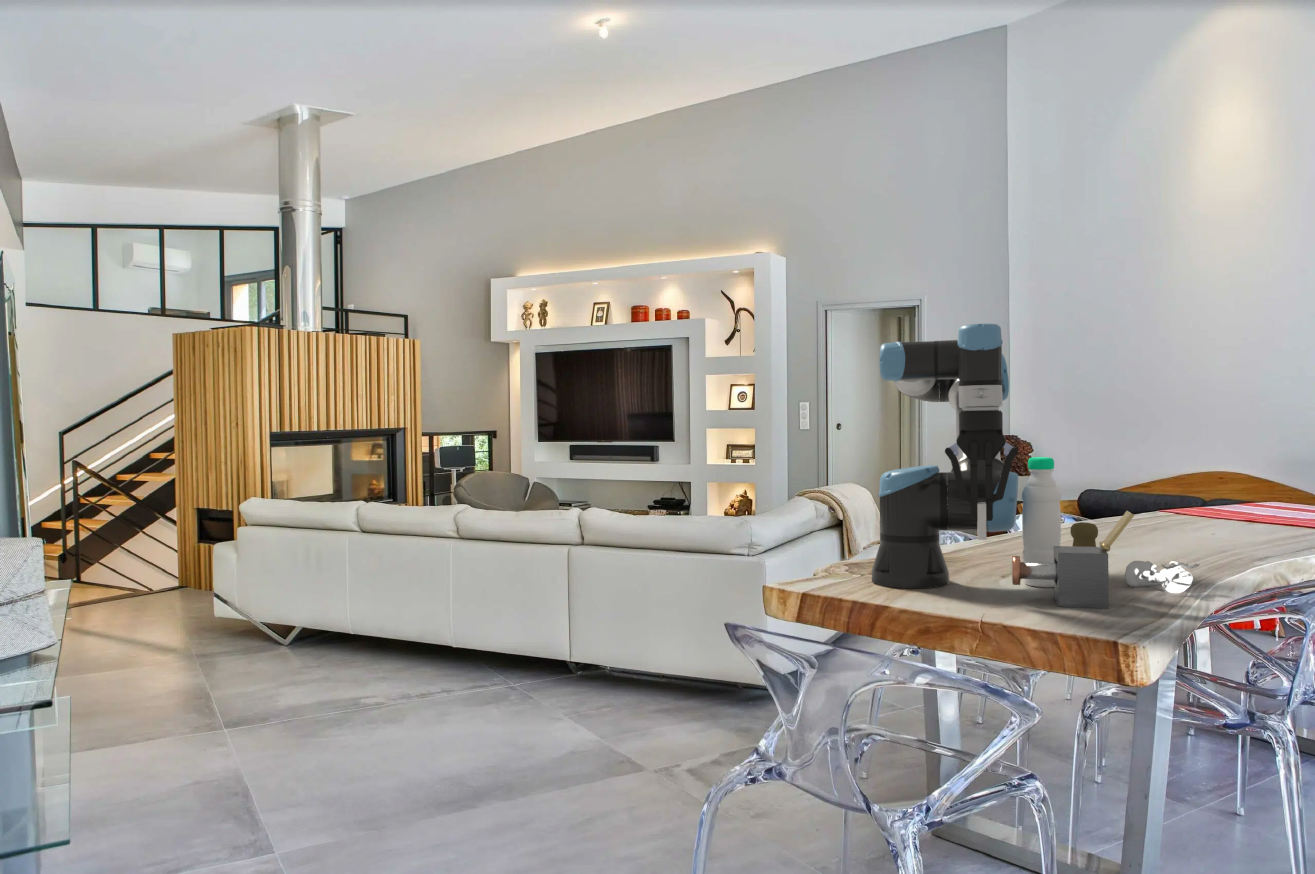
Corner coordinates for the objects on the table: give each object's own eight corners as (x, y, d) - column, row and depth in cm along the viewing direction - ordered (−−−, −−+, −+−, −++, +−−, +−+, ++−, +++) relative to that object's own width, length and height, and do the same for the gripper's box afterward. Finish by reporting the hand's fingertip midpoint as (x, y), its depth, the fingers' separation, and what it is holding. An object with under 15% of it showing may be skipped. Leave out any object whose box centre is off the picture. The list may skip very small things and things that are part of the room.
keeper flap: (1107, 552, 166) (1101, 548, 166) (1103, 549, 170) (1097, 545, 171) (1136, 516, 165) (1129, 512, 165) (1131, 513, 169) (1125, 509, 169)
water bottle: (1044, 589, 183) (1042, 458, 182) (1014, 583, 189) (1013, 457, 188) (1069, 585, 186) (1068, 457, 185) (1039, 580, 192) (1038, 456, 192)
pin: (1013, 587, 171) (1013, 558, 170) (1011, 581, 176) (1011, 553, 175) (1094, 589, 167) (1093, 560, 167) (1090, 584, 172) (1089, 555, 171)
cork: (1104, 579, 192) (1103, 524, 191) (1072, 578, 193) (1071, 524, 193) (1096, 573, 198) (1096, 521, 197) (1065, 573, 199) (1065, 520, 199)
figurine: (1149, 560, 188) (1204, 557, 177) (1153, 593, 187) (1209, 592, 176) (1114, 561, 184) (1168, 558, 173) (1118, 594, 183) (1172, 593, 172)
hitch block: (1058, 606, 167) (1058, 552, 167) (1054, 597, 175) (1053, 545, 175) (1108, 608, 165) (1108, 553, 165) (1101, 599, 172) (1101, 546, 172)
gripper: (942, 410, 172) (944, 540, 172) (1020, 408, 168) (1021, 542, 169) (943, 410, 179) (944, 535, 180) (1017, 408, 175) (1018, 536, 176)
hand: (981, 538), depth 174 cm, fingers closed
